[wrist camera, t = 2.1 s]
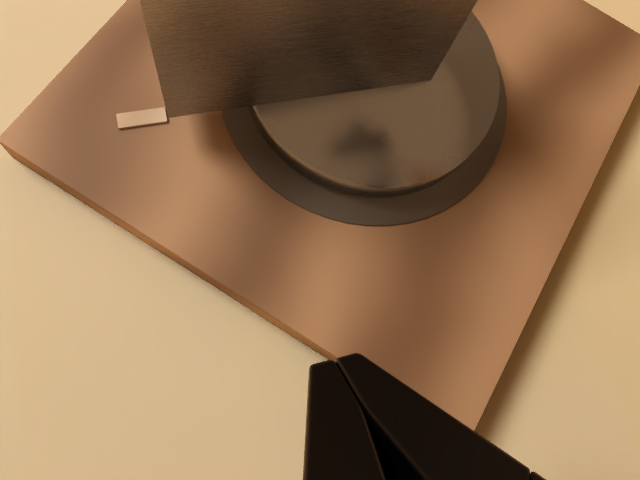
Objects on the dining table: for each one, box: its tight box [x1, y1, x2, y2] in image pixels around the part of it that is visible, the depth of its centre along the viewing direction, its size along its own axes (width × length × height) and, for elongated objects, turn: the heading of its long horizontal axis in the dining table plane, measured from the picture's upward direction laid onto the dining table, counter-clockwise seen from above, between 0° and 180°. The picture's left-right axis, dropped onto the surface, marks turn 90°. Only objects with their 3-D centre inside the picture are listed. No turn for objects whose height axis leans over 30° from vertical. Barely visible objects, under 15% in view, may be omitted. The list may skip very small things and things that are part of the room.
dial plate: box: [0, 0, 640, 431], centre depth 24 cm, size 20×20×2 cm
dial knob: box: [140, 0, 500, 198], centre depth 19 cm, size 13×10×8 cm
